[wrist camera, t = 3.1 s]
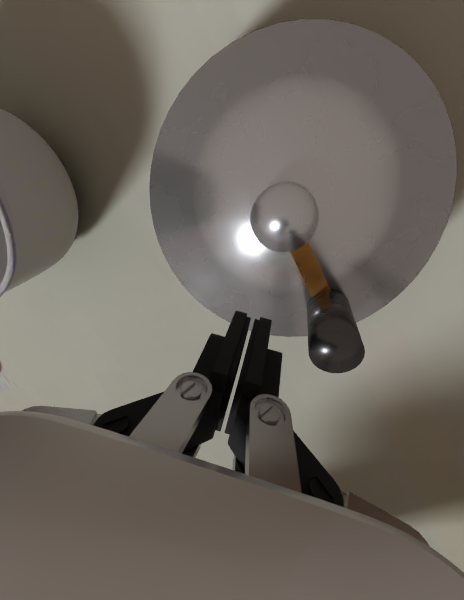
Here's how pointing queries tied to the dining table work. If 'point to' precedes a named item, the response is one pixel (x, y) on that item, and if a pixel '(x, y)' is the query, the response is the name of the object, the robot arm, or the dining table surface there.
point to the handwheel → (304, 181)
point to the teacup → (32, 204)
